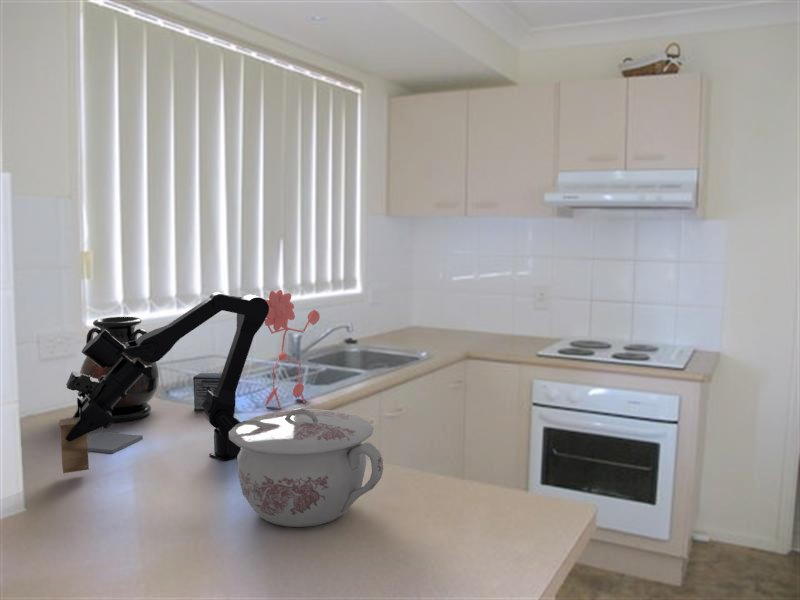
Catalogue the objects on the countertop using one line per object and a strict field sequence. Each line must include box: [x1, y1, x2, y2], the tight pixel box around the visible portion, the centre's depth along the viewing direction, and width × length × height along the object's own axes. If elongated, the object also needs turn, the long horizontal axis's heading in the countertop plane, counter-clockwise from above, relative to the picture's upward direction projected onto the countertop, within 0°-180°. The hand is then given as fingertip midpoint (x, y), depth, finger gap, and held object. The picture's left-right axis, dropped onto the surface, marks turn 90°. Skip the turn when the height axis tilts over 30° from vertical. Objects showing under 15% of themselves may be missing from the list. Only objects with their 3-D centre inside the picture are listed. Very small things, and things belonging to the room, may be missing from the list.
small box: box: [192, 372, 222, 412], centre depth 211 cm, size 11×6×10 cm, turn 84°
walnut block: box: [59, 417, 89, 474], centre depth 154 cm, size 5×5×10 cm
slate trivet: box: [87, 431, 144, 454], centre depth 178 cm, size 12×12×1 cm
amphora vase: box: [79, 316, 160, 423], centre depth 202 cm, size 22×22×28 cm
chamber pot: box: [229, 407, 384, 528], centre depth 136 cm, size 28×28×21 cm
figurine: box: [263, 289, 321, 409], centre depth 218 cm, size 15×26×35 cm, turn 135°
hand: (66, 436), depth 153 cm, fingers closed on walnut block, 5 cm apart
